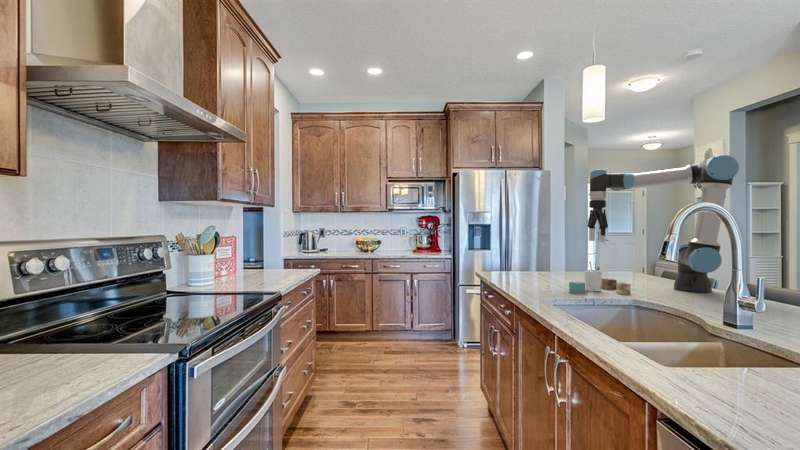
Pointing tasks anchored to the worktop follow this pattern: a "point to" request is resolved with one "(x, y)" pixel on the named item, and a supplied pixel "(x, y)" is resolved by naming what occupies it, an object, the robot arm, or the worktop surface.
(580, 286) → the teal painted block
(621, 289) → the maple block
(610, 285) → the walnut block
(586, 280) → the white cup
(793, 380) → the worktop surface
